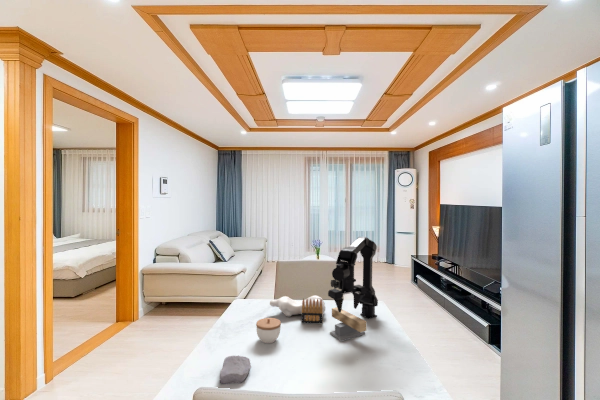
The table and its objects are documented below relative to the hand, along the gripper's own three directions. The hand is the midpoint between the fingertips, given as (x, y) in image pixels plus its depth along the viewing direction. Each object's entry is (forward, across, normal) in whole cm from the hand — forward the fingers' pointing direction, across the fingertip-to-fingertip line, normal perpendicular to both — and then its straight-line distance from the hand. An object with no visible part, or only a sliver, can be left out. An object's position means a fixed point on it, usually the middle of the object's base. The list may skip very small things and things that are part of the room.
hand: (347, 310), depth 135 cm
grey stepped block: (+11, 0, 0) cm, 11 cm away
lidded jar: (+11, +34, -13) cm, 38 cm away
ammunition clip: (+11, +7, -19) cm, 23 cm away
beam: (+6, 0, 0) cm, 6 cm away
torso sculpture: (+11, +7, -33) cm, 35 cm away
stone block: (+12, +54, +4) cm, 56 cm away
